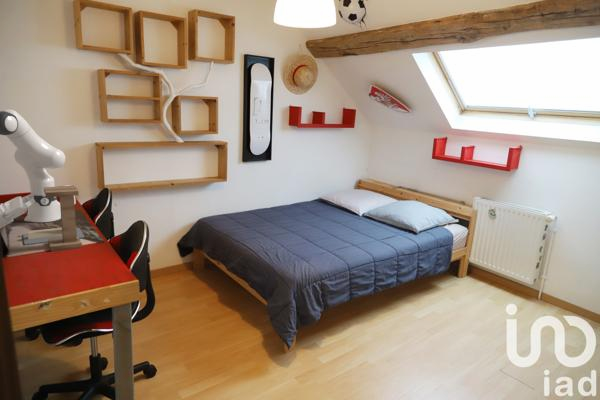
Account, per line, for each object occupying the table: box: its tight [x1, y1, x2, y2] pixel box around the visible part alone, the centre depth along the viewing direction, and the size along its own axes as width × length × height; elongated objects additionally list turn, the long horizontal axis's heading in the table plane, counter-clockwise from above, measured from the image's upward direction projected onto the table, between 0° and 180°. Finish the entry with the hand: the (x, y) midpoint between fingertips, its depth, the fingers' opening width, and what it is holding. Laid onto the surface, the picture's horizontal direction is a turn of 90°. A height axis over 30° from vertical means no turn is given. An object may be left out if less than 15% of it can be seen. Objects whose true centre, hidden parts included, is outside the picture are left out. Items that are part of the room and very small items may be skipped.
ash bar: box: [26, 226, 78, 239], centre depth 195 cm, size 3×20×3 cm, turn 126°
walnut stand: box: [44, 185, 83, 252], centre depth 183 cm, size 12×12×26 cm
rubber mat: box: [22, 227, 85, 246], centre depth 196 cm, size 16×24×1 cm, turn 125°
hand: (33, 197), depth 188 cm, fingers open, 8 cm apart
